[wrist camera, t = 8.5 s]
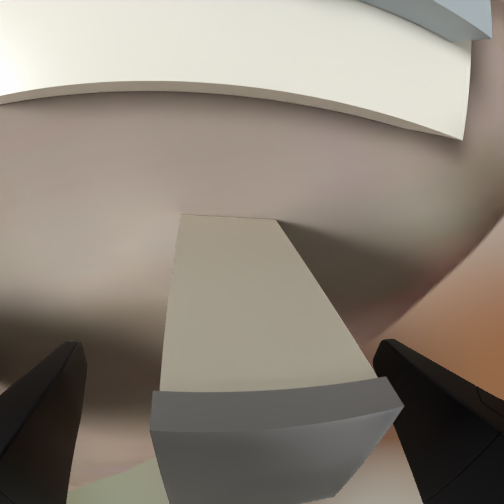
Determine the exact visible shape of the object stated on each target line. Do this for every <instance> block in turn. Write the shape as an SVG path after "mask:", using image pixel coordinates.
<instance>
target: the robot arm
mask: <svg viewBox="0 0 504 504" xmlns="http://www.w3.org/2000/svg"><path fill="white" fill-rule="evenodd" d="M373 367H374V370H375V373H376V375H377V377H378V378H380V377H385V376H386V377H387V379H388V381H389V382H390V384H391V385H392V387H393V389H394V390H395V392H396V393H397V395H398V397H399V398H400V400H401V401H402V403H403V405H404V407H403V409H402V410H401V412H400V413H399V415H398V416H397V418H396V419H395V421H394V422H393V425H394V427H395V430H396V432H397V434H398V437H399V440H400V442H401V445H402V447H403V450H404V453H405V455H406V458H407V460H408V463H409V466H410V468H411V471H412V473H413V477H414V479H415V482H416V484H417V487H418V490H419V493H420V496H421V499H422V502H423V503H424V504H504V401H503V400H502V399H499V398H497V397H495V396H494V395H492V394H490V393H488V392H486V391H484V390H483V389H481V388H479V387H476V386H475V385H474V384H472V383H470V382H468V381H466V380H465V379H463V378H461V377H460V376H458V375H456V374H454V373H453V372H451V371H449V370H447V369H446V368H444V367H442V366H440V365H438V364H437V363H435V362H433V361H432V360H430V359H428V358H426V357H424V356H423V355H421V354H419V353H418V352H416V351H414V350H412V349H410V348H408V347H407V346H405V345H404V344H402V343H400V342H398V341H397V340H395V339H385V340H382V341H381V342H380V345H379V347H378V349H377V351H376V354H375V356H374V358H373ZM86 374H87V362H86V358H85V354H84V351H83V347H82V344H81V342H79V341H74V340H67V341H65V342H64V343H62V344H61V345H60V346H59V347H57V348H56V349H55V350H54V351H53V352H51V353H50V354H49V355H48V356H46V357H45V358H44V359H43V360H41V361H40V362H39V363H38V364H37V365H35V366H34V367H33V368H32V369H31V370H29V371H28V372H27V373H26V374H25V375H23V376H22V377H21V378H20V379H19V380H17V381H16V382H15V383H14V384H13V385H12V386H10V387H9V388H8V389H7V390H6V391H4V392H3V393H2V394H1V395H0V504H66V500H67V492H68V485H69V478H70V472H71V466H72V460H73V454H74V449H75V444H76V439H77V434H78V429H79V424H80V419H81V414H82V406H83V397H84V389H85V381H86Z"/></svg>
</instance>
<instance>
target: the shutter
mask: <svg viewBox="0 0 504 504" xmlns="http://www.w3.org/2000/svg"><path fill="white" fill-rule="evenodd" d="M360 1H363V2H366V3H368V4H371V5H374V6H376V7H379V8H381V9H384V10H386V11H389V12H391V13H394V14H396V15H398V16H401V17H403V18H405V19H407V20H409V21H412V22H414V23H416V24H418V25H420V26H422V27H424V28H426V29H428V30H430V31H432V32H434V33H436V34H438V35H440V36H441V37H443V38H445V39H447V40H449V41H450V42H459V41H469V40H481V39H492V19H491V5H490V0H360Z"/></svg>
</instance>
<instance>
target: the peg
mask: <svg viewBox="0 0 504 504" xmlns="http://www.w3.org/2000/svg"><path fill="white" fill-rule="evenodd" d="M403 407H404V405H403V403H402V401H401V400H400V398H399V397H398V395H397V393H396V392H395V390H394V389H393V387H392V385H391V384H390V382H389V381H388V379H387V377H386V376H385V377H380V378H378V377H377V375H376V374H375V372H374V370H373V369H372V367H371V365H370V364H369V362H368V361H367V359H366V357H365V356H364V354H363V352H362V351H361V349H360V348H359V346H358V344H357V343H356V341H355V340H354V338H353V337H352V335H351V333H350V332H349V330H348V329H347V327H346V325H345V324H344V322H343V321H342V319H341V318H340V316H339V314H338V313H337V311H336V310H335V308H334V307H333V305H332V304H331V302H330V301H329V299H328V297H327V296H326V294H325V293H324V291H323V290H322V288H321V287H320V285H319V284H318V282H317V281H316V279H315V278H314V276H313V275H312V273H311V271H310V270H309V268H308V267H307V265H306V264H305V262H304V261H303V259H302V258H301V256H300V255H299V253H298V252H297V250H296V249H295V248H294V246H293V245H292V243H291V242H290V240H289V239H288V237H287V236H286V234H285V233H284V231H283V230H282V228H281V227H280V225H279V224H278V222H277V221H276V220H271V219H255V218H238V217H220V216H200V215H181V218H180V223H179V230H178V236H177V242H176V248H175V255H174V262H173V269H172V276H171V283H170V291H169V299H168V307H167V316H166V325H165V334H164V344H163V355H162V366H161V378H160V391H153V393H152V405H151V418H150V434H151V438H152V442H153V446H154V450H155V454H156V458H157V461H158V465H159V469H160V473H161V476H162V480H163V483H164V486H165V490H166V493H167V496H168V499H169V503H170V504H301V503H307V502H312V501H317V500H321V499H326V498H330V497H334V496H335V495H336V494H337V493H338V492H339V491H340V490H341V489H342V487H343V486H344V485H345V484H346V483H347V482H348V481H349V479H350V478H351V477H352V476H353V475H354V473H355V472H356V471H357V470H358V468H359V467H360V466H361V465H362V464H363V463H364V461H365V460H366V459H367V458H368V456H369V455H370V454H371V452H372V451H373V450H374V448H375V447H376V446H377V444H378V443H379V442H380V440H381V439H382V438H383V436H384V435H385V433H386V432H387V431H388V429H389V428H390V426H391V425H392V424H393V422H394V421H395V419H396V418H397V416H398V415H399V413H400V412H401V410H402V409H403Z"/></svg>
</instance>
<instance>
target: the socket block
mask: <svg viewBox="0 0 504 504" xmlns="http://www.w3.org/2000/svg"><path fill="white" fill-rule="evenodd" d="M470 67H471V40H469V41H459V42H450V41H449V40H447V39H445V38H443V37H441V36H440V35H438V34H436V33H434V32H432V31H430V30H428V29H426V28H424V27H422V26H420V25H418V24H416V23H414V22H412V21H409V20H407V19H405V18H403V17H401V16H398V15H396V14H394V13H391V12H389V11H386V10H384V9H381V8H379V7H376V6H374V5H371V4H368V3H366V2H363V1H360V0H0V105H1V104H6V103H12V102H17V101H24V100H30V99H37V98H44V97H52V96H61V95H71V94H83V93H97V92H119V91H174V92H197V93H212V94H224V95H235V96H245V97H253V98H261V99H269V100H276V101H283V102H289V103H295V104H301V105H307V106H312V107H318V108H323V109H328V110H333V111H337V112H342V113H346V114H351V115H355V116H359V117H363V118H367V119H371V120H375V121H379V122H383V123H386V124H390V125H393V126H397V127H400V128H404V129H410V130H415V131H421V132H426V133H431V134H436V135H440V136H445V137H449V138H454V139H458V140H462V141H463V135H464V128H465V121H466V113H467V104H468V94H469V83H470Z"/></svg>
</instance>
